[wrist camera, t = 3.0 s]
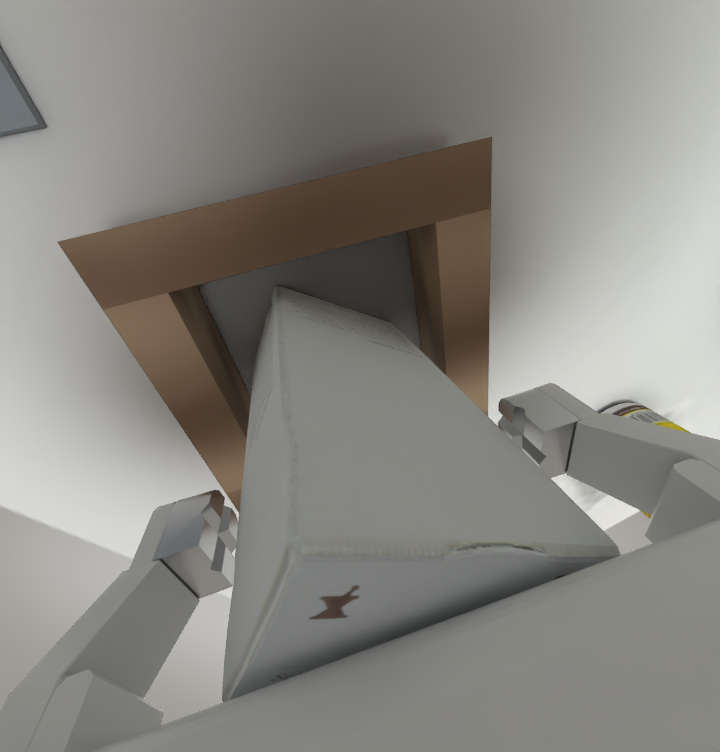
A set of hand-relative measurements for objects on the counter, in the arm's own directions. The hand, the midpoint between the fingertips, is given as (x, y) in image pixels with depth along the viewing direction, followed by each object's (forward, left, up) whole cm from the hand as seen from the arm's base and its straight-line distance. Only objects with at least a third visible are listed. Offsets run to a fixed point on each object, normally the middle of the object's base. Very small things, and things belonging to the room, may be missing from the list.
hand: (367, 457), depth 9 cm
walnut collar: (0, 0, -8) cm, 8 cm away
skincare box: (0, 0, -8) cm, 8 cm away
